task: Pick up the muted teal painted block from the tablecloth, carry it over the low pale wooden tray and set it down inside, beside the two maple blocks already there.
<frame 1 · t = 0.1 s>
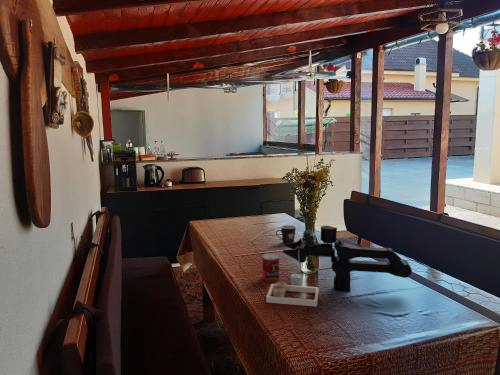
hand: (284, 248, 181), 17 cm above the table, tool horizontal, fingers open, 9 cm apart
canned food: (270, 279, 189), on the table
tray: (293, 297, 169), on the table
block maple b: (280, 293, 173), resting in tray
block teal: (296, 285, 182), on the table
block maple a: (278, 299, 167), resting in tray
coffee mug: (285, 243, 245), on the table
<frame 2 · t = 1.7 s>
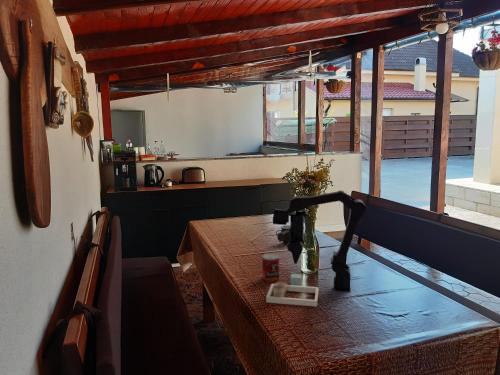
hand: (296, 260, 180), 11 cm above the table, tool pointing down, fingers open, 9 cm apart
nothing on the table moved.
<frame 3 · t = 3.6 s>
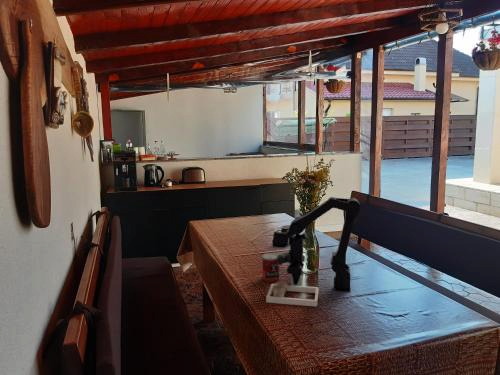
hand: (296, 282, 182), 1 cm above the table, tool pointing down, fingers closed on block teal, 4 cm apart
block teal: (296, 285, 182), on the table, touching gripper
everything else where it was.
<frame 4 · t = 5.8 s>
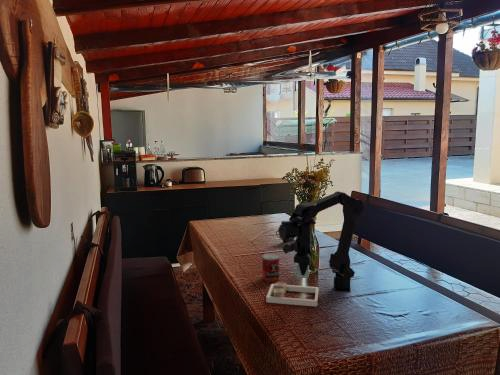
hand: (303, 273, 167), 11 cm above the table, tool pointing down, fingers closed on block teal, 4 cm apart
block teal: (303, 275, 167), point 9 cm above the table, touching gripper
everything else where it was.
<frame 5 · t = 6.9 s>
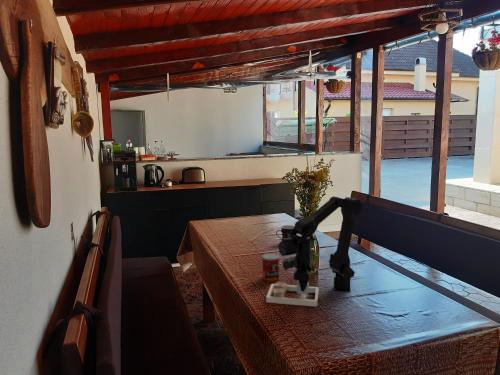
hand: (303, 289, 168), 4 cm above the table, tool pointing down, fingers closed on block teal, 4 cm apart
block teal: (302, 291, 168), point 3 cm above the table, touching gripper
everything else where it was.
when the fingers open (3 cm above the table, at t = 7.8 s): block teal drops 2 cm, resting in tray.
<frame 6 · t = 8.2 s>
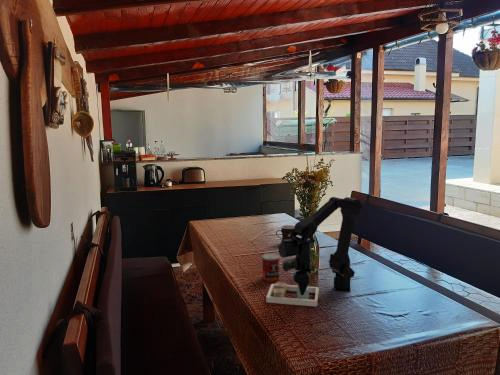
hand: (303, 290, 168), 3 cm above the table, tool pointing down, fingers open, 9 cm apart
block teal: (302, 298, 169), resting in tray
everything else where it was.
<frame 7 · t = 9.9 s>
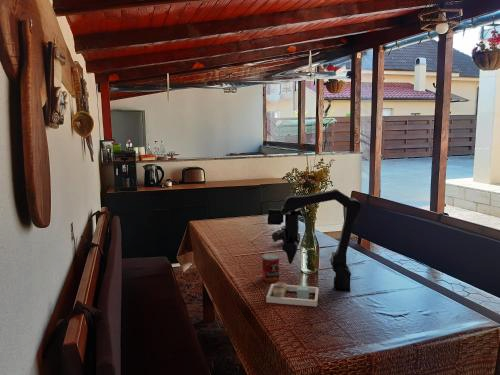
hand: (291, 260, 179), 12 cm above the table, tool pointing down, fingers open, 9 cm apart
nothing on the table moved.
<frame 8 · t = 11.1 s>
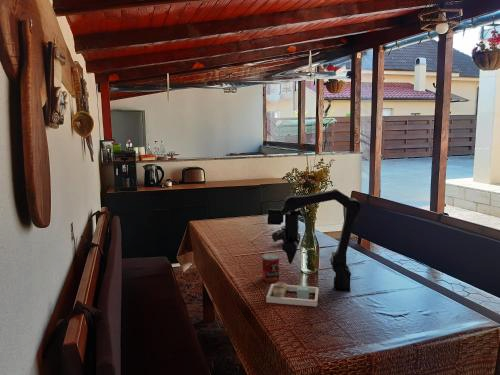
hand: (291, 260, 179), 12 cm above the table, tool pointing down, fingers open, 9 cm apart
nothing on the table moved.
at the end: block teal inside the target area (0.4 cm from its centre), resting in tray; the gripper is holding nothing; block maple a moved 0.1 cm from its start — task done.
